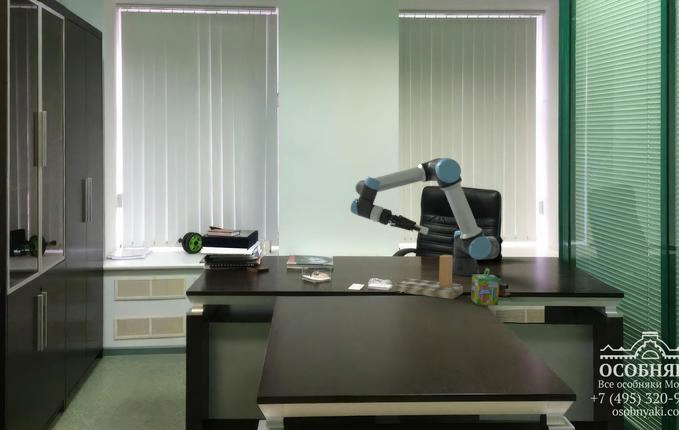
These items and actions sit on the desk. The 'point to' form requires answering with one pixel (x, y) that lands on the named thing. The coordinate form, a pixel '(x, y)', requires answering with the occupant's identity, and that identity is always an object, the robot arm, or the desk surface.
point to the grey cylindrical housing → (495, 247)
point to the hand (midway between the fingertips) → (427, 231)
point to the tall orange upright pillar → (445, 271)
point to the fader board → (428, 288)
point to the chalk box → (485, 289)
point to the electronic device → (503, 289)
